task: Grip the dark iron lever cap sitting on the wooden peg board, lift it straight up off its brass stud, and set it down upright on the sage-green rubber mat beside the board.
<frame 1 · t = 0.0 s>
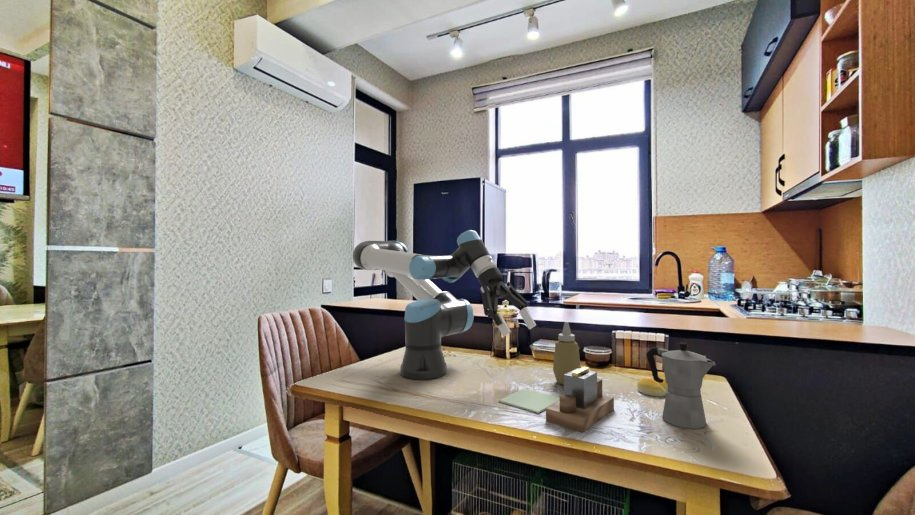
hand: (520, 330, 123), 15 cm above the table, tool tilted 35°, fingers open, 13 cm apart
wooden peg board: (581, 415, 97), on the table
mat: (531, 400, 107), on the table
squeeze bottle: (567, 383, 121), on the table
bread roll: (655, 392, 113), on the table
coffeepot: (678, 420, 94), on the table
lever cap: (580, 402, 97), point 3 cm above the table, touching wooden peg board
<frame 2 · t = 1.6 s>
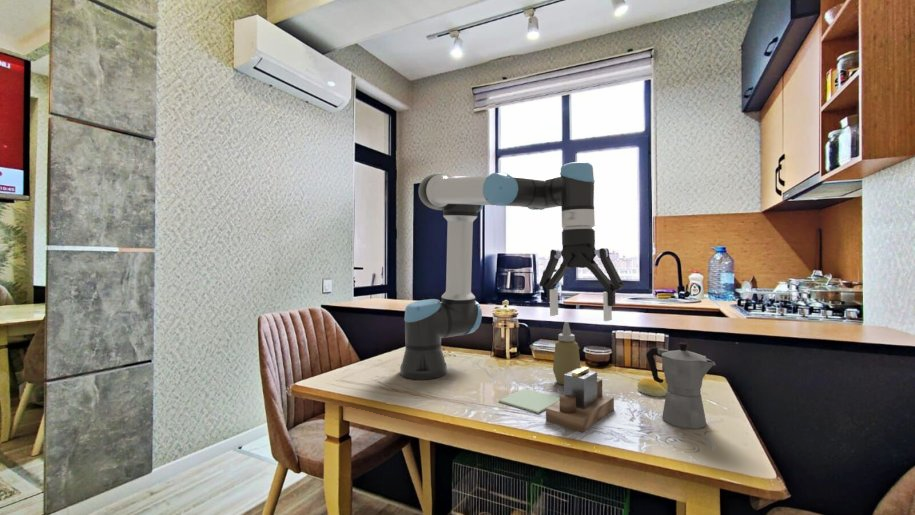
hand: (579, 317, 97), 23 cm above the table, tool pointing down, fingers open, 13 cm apart
nothing on the table moved.
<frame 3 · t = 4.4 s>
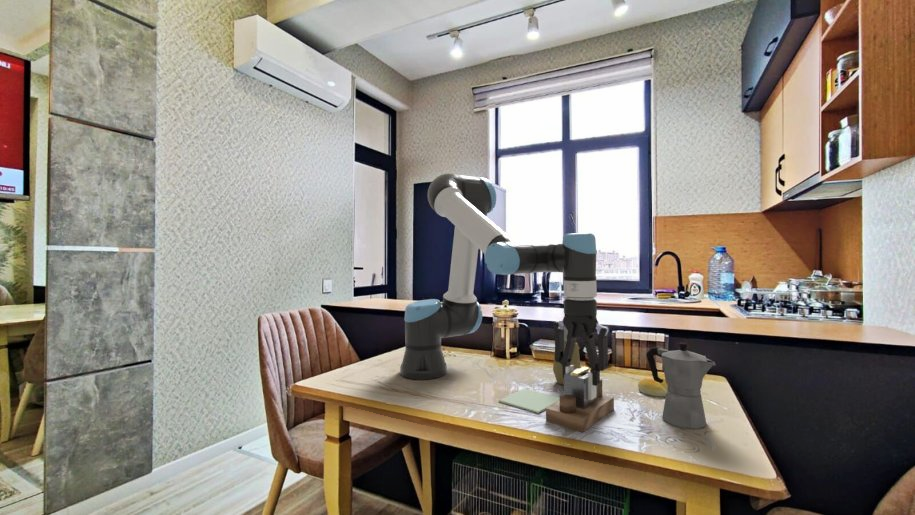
hand: (580, 395, 97), 5 cm above the table, tool pointing down, fingers closed on lever cap, 5 cm apart
lever cap: (580, 402, 97), point 3 cm above the table, touching gripper, wooden peg board
everything else where it was.
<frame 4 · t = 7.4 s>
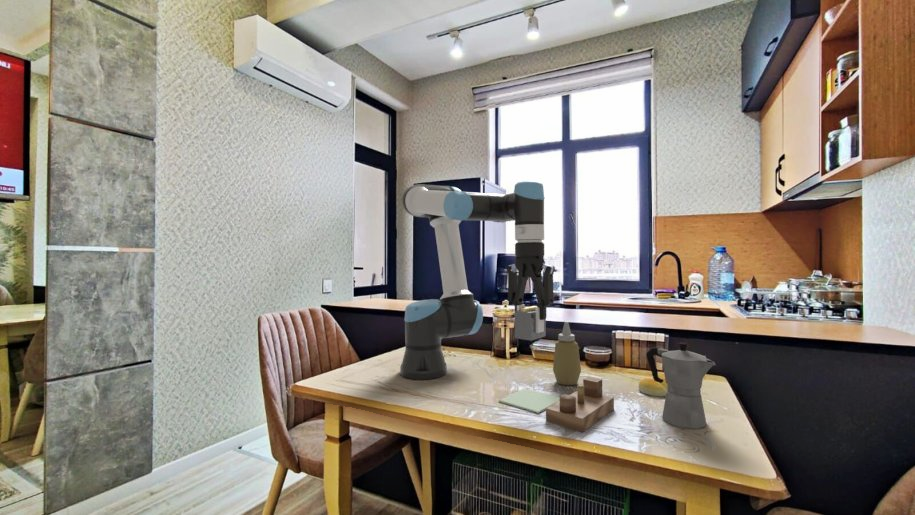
hand: (530, 330, 107), 19 cm above the table, tool pointing down, fingers closed on lever cap, 5 cm apart
lever cap: (530, 337, 107), point 17 cm above the table, touching gripper
everything else where it was.
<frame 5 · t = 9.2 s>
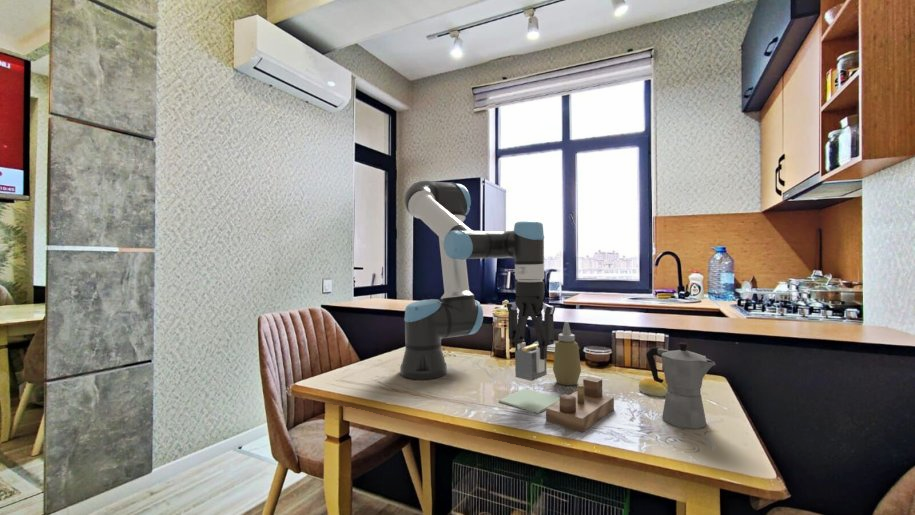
hand: (531, 369, 107), 8 cm above the table, tool pointing down, fingers closed on lever cap, 5 cm apart
lever cap: (531, 375, 107), point 7 cm above the table, touching gripper
everything else where it was.
when the fingers open (4 cm above the table, at t = 10.8 s): lever cap drops 1 cm, resting on mat.
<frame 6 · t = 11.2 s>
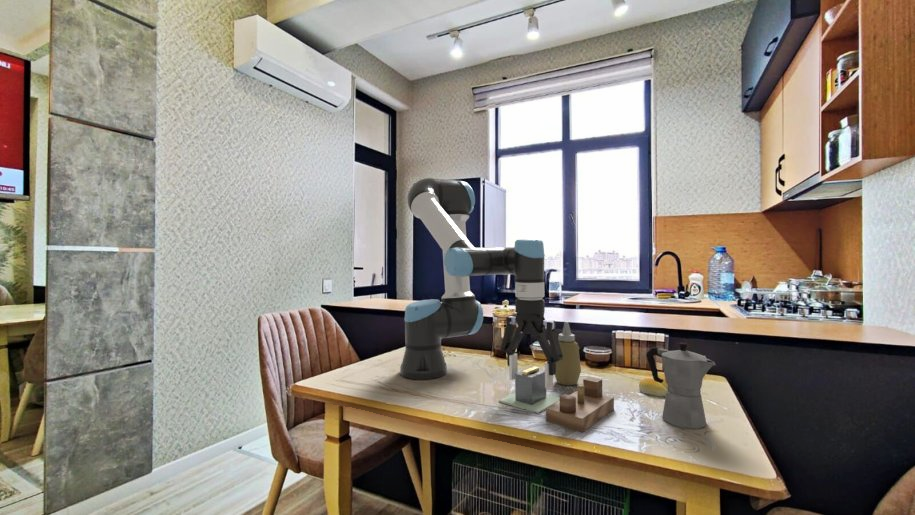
hand: (530, 382, 107), 5 cm above the table, tool pointing down, fingers open, 10 cm apart
lever cap: (531, 398, 107), resting on mat
everything else where it was.
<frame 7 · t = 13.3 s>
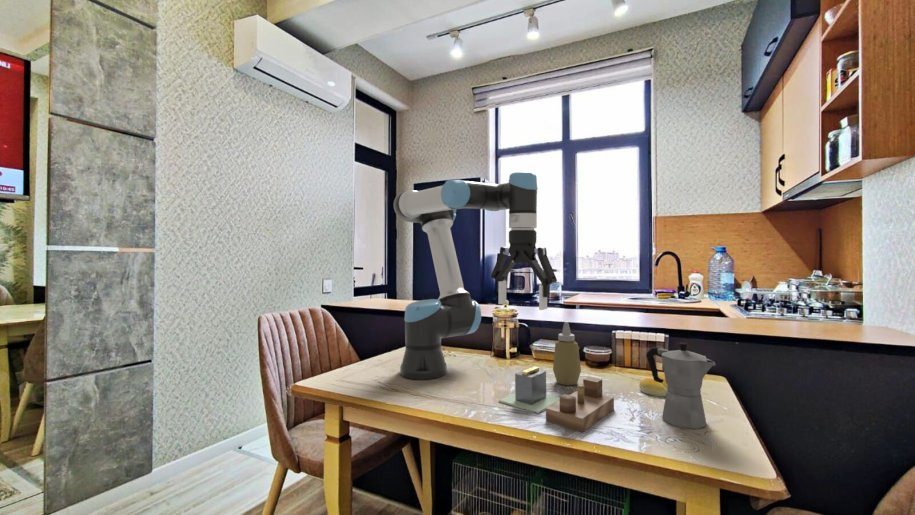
hand: (521, 306, 113), 24 cm above the table, tool pointing down, fingers open, 13 cm apart
nothing on the table moved.
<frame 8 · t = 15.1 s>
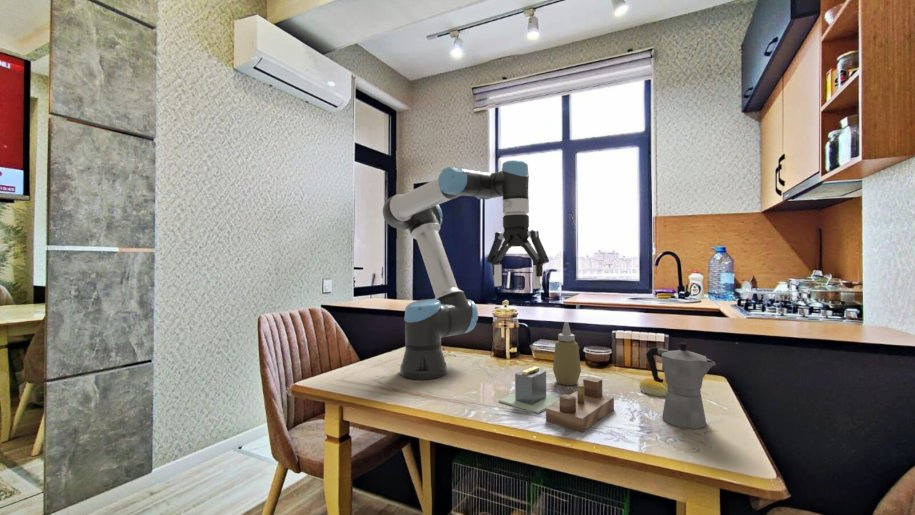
hand: (516, 287, 120), 29 cm above the table, tool pointing down, fingers open, 13 cm apart
nothing on the table moved.
at the end: lever cap inside the target area (0.1 cm from its centre), point 0.5 cm above the table; lever cap tilted 0°; the gripper is holding nothing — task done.
